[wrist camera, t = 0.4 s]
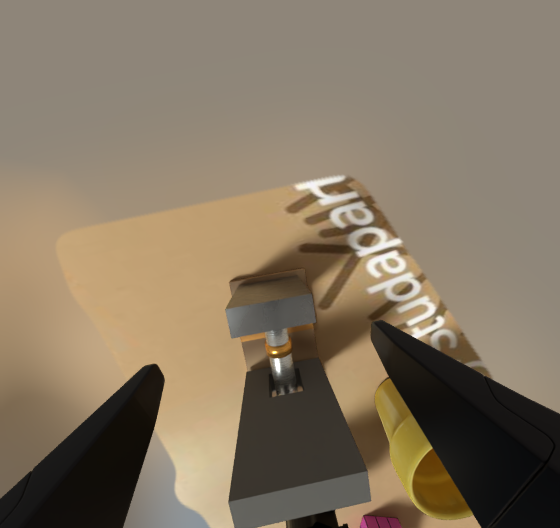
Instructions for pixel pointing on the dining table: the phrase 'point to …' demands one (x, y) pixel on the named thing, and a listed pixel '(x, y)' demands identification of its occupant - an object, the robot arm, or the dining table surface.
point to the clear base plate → (299, 335)
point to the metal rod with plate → (273, 321)
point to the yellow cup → (417, 459)
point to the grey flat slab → (293, 451)
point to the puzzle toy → (379, 522)
